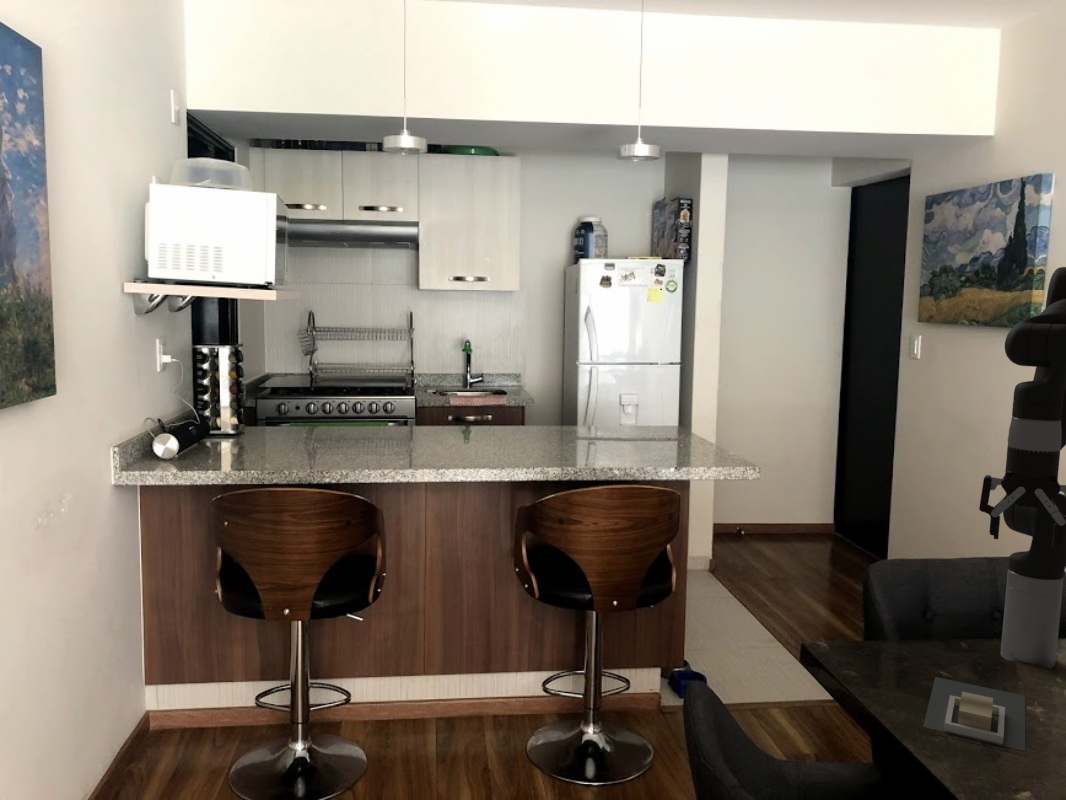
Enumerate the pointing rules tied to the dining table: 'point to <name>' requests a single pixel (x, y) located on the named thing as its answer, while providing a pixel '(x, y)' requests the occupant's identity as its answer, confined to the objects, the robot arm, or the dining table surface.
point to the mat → (1012, 719)
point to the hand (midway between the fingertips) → (1025, 542)
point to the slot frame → (970, 730)
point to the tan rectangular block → (975, 711)
